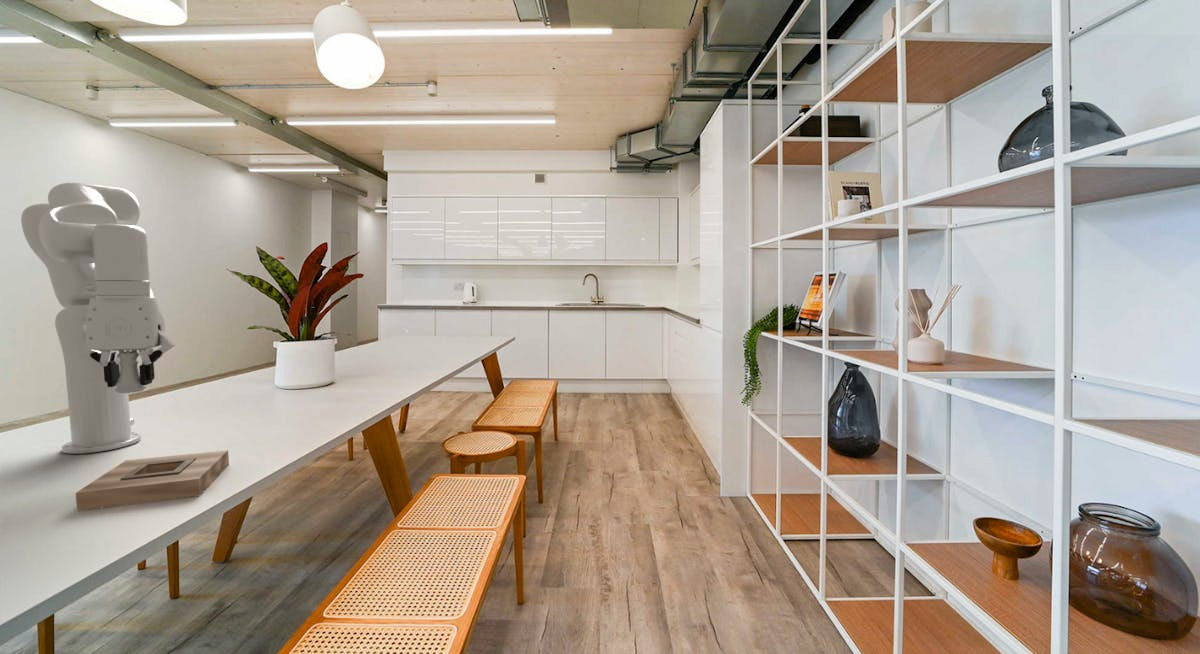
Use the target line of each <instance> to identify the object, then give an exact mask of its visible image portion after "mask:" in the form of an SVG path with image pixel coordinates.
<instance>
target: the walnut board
mask: <svg viewBox="0 0 1200 654" xmlns="http://www.w3.org/2000/svg"><path fill="white" fill-rule="evenodd" d="M229 459H230V458H229V450H228V449H227V450H217V451H207V452H199V453H198V452H197V453H185V454H177V455H168V456H167V455H165V456H157V457H147V458H139V459H138V458H137V459H129V460H127V459H125V460H124V461H123V462H121V463H120V464H118V465H116V466H114V468H112V469H110V470H109V471H107V472H105V473H104V474H102V475H101V476H100V477H98V478H97V479H94V480H93V481H91V482H90V483H89V484H87V485H85V486H84V487H82V488H81V489H79V490H78V491H76V492H75V501H76V511H77V512H79V510H82V511H87V510H86V509H90V510H94V509H93V508H98V509H102V508H101V507H106V508H111V507H110V506H114V507H120V505H122V506H128V505H129V504H130V505H136V503H138V504H145V503H153V501H154V502H160V500H162V501H169V499H170V500H176V498H178V499H184V497H186V498H192V497H191V496H194V497H199V496H198V495H200V496H201V495H202V494H204V492H205V491H206V490H207V489H208V488H209V487H210V486H211V485H212V484H213V483H214V481H215V480H216V479H218V477H219V476H220V475H221V474H222V473H223V472H224V471H223V470H224V469H225V468H226V467H227V468H228V466H230V460H229ZM227 468H226V469H227ZM226 469H225V470H226ZM222 471H223V472H222ZM221 472H222V473H221ZM220 473H221V474H220ZM219 474H220V475H219ZM210 484H211V485H210ZM209 485H210V486H209ZM208 486H209V487H208ZM207 487H208V488H207ZM206 488H207V489H206ZM203 491H204V492H203ZM167 499H168V500H167ZM127 504H128V505H127ZM130 505H129V506H130Z"/></svg>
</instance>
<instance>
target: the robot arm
mask: <svg viewBox="0 0 1200 654" xmlns="http://www.w3.org/2000/svg"><path fill="white" fill-rule="evenodd" d="M47 201H48V203H36V204H32V205H29V206H27V207H26V208H24V210H23V211H22V212H21V213H22V214H21V216H20V217H21V218H20V221H21V228H22V232H23V235H24V238H25V240H26V242H27V244H28V245H29V247H30V249H31V250H32V251H33V252H34V254H35V255H36V256H37V257H38V258H39V260H40V261H41V262H42V263H43V264H44V266H45V267H46V269H47V271H48V275H49V280H50V282H51V285H52V289H53V292H54V294H55V297H56V299H57V301H58V303H59V304H60V306H61V307H63V309H61V310H60V311H59V312H58V313H57V314H56V317H55V319H54V320H55V321H54V327H55V331H56V333H57V337H58V341H59V342H60V343H59V344H60V347H61V350H62V357H63V360H64V362H63V363H64V370H65V378H66V379H65V380H66V392H67V403H68V416H69V425H70V426H69V427H70V437H71V438H70V439H71V441H68V442H66V443H64V444H63V445H62V446H61V452H62V453H64V454H69V455H75V454H76V455H77V454H80V455H81V454H90V453H91V454H93V453H99V452H105V451H111V450H116V449H120V448H124V447H128V446H131V445H134V444H136V443H138V442H139V441H141V438H142V435H141V434H140V433H138V432H134V431H133V432H132V428H131V427H132V426H133V425H134V424H135V420H134V418H132V417H131V415H130V414H131V412H130V411H131V410H130V400H129V398H130V397H129V393H117V392H116V391H115V389H117V387H116V386H115V384H116V382H118V379H119V377H120V371H121V366H120V364H119V363H120V359H119V358H118V357H117V355H118V352H119V351H122V350H124V351H126V350H130V351H132V350H137V352H138V353H139V354H140V355H139V356H140V359H141V364H140V365H139V366H138V371H139V374H140V384H141V385H143V386H148V385H150V384H152V383H153V381H154V380H155V376H156V375H155V363H156V362H157V361H158V360H159V359H160V358H161V357H162V356H164V354H166V353H168V352H170V351H171V350H173V349H174V348H175V346H176V345H175V344H174V343H173V341H171V340H170V339H169V338H168V337H167V336H166V335H165V333H166V331H165V330H166V326H165V321H164V317H163V314H162V311H161V308H160V307H159V304H158V301H157V298H156V296H155V294H154V291H153V289H152V286H151V283H150V268H149V255H148V252H149V248H148V247H149V245H148V237H147V233H146V231H145V230H144V229H143V228H142V227H139V226H137V225H138V221H139V219H140V215H141V209H140V204H139V201H138V199H137V197H136V196H135V195H134V194H133V192H130V191H129V190H127V189H125V188H121V187H115V186H114V187H113V186H107V185H99V184H98V185H97V184H88V183H80V182H63V183H60V184H57V185H55V186H53V187H52V188H51V189H50V190H49V192H48V195H47ZM159 346H160V347H159ZM156 347H159V348H158V349H156V350H154V348H156Z"/></svg>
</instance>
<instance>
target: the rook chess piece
mask: <svg viewBox="0 0 1200 654" xmlns="http://www.w3.org/2000/svg"><path fill="white" fill-rule="evenodd" d="M118 352H119V353H117V357H118V358H119V359H120V363H119V364H120V366H121V371H120V377H119V379H118V382H116V384H115V386H116V387H117V389H115V391H116V392H117V393H128V394H130V393H131V394H132V393H138V392H143V391H145V389H146V388H147V387H146V385H141V384H140V370H139V366H138V364H139V361H138V357H139V356H140V354H139V351H138V350H122V351H118Z"/></svg>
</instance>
